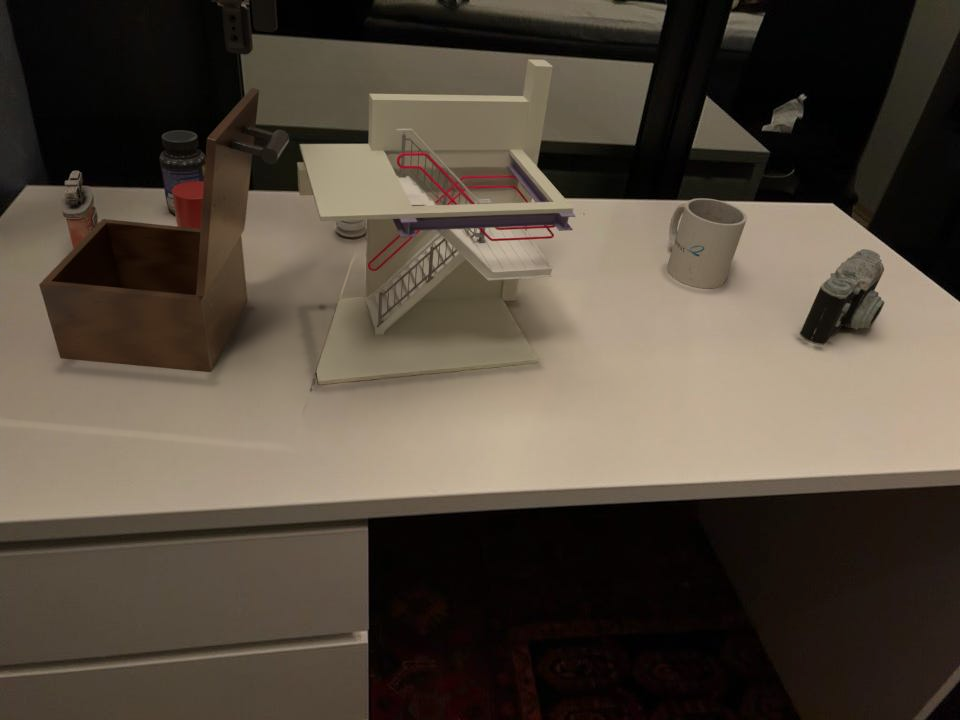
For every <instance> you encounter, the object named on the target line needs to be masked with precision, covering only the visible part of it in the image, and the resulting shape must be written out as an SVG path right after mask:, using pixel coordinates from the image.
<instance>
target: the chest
mask: <svg viewBox="0 0 960 720" xmlns="http://www.w3.org/2000/svg"><path fill="white" fill-rule="evenodd" d="M97 223H98V224H97V225H96V226H95V227H94V228H93V229H92V230H91V231H90V233H89V234H88V235H87V236H86V237H85V238H84V239H83V240H82V241H81V242H80V243H79V244H78V245H77V246H76V247H75V248H74V249H72V250H71V251H70V252H69V253H68V254H67V255H66V256H65V257H64V258H63V259H62V260H61V261H60V262H59V263H58V264H57V265H56V266H55V267H54V268H53V269H52V270H51V272H50V273H48V275H46V277H45V278H44V279H43V280H42V281H41V282H40V283H39V284H38V285H39V289H40V293H41V296H42V299H43V303H44V307H45V310H46V313H47V317H48V320H49V323H50V324H49V325H50V327H51V331H52V333H53V334H52V335H53V337H54V341H55V345H56V348H57V351H58V354H59V355H58V356H59V358H60V359H63V360H74V361H85V362H94V363H107V364H117V365H129V366H138V367H139V366H140V367H148V368H149V367H150V368H159V369H160V368H161V369H173V370H181V371H182V370H183V371H193V372H204V373H212V371H213V368H214V366H215V365H216V363H217V361H218V359H219V357H220V355H221V353H222V351H223V349H224V347H225V345H226V343H227V341H228V339H229V337H230V335H231V334H232V331H233V329H234V327H235V326H236V324H237V321H238V319H239V318H240V316H241V314H242V311H243V310H244V307H245V306H246V304H247V302H248V291H247V281H246V280H247V279H246V269H245V258H244V248H243V238H242V235H241V236H240V238H239V239H238V241H237V243H236V244H235V246H234V248H233V249H232V251H231V253H230V254H229V256H228V258H227V259H226V261H225V263H224V264H223V266H222V268H221V269H220V271H219V273H218V274H217V276H216V278H215V279H214V281H213V283H212V284H211V286H210V288H209V289H208V291H207V293H206V294H205V296H199V295H196V290H197V276H198V261H199V246H200V232H201V229H197V228H187V227H177V225H176V226H175V225H165V224H158V223H157V224H156V223H149V222H148V223H147V222H139V221H138V222H137V221H129V220H128V221H127V220H117V219H109V218H102V219H101V220H100V221H98V222H97Z"/></svg>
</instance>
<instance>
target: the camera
mask: <svg viewBox="0 0 960 720" xmlns="http://www.w3.org/2000/svg"><path fill="white" fill-rule="evenodd" d="M882 261H883V260H882V259H881V255H880V254H879V253H878V252H876V251H874V250H871V249H867V248H866V249H860V250H857V251H856V252H855V253H854V254H852V255H851V256H850V257H848V258H847V259H846V260H845V261H843V262H841V263H840V265H839V266H838V267H837V268H836V270H835V271H834V272H830V274H829V275H830V277H829V278H827V279H826V280H825V281H824V282H823V283H822V284H821V285H820V286H819V290H818V292H817V294H816V296H815V299H814V301H813V303H812V305H811V307H810V309H809V312H808V314H807V316H806V319H805V321H804V323H803V325H802V328H801V330H800V332H799V335H800V337H802V338H803V339H804V340H806V341H807V342H810V343H812V344H816V345H820V346H821V345H823V346H824V345H825V344H826V343H827V342H828V341H829V340H830V339H831V338H832V337H833V336H834V335H835V334H836V333H838V331H839V330H840V329H841V328H842V327H844V328H848V329H849V330H850V329H854V330H859V329H862V330H864V329H870V328H871V327H872V326H873V325H874V323H875V322H876V321H877V318H878V317H879V315H880V313H881V311H882V309H883V307H884V305H885V301H884V300H882V297H881V296H879V294H880V293H879V291H876V288H877V286H878V284H879V282H880V280H881V277H882V276H883V274H884V272H885V266H884V264H883V262H882Z"/></svg>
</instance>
